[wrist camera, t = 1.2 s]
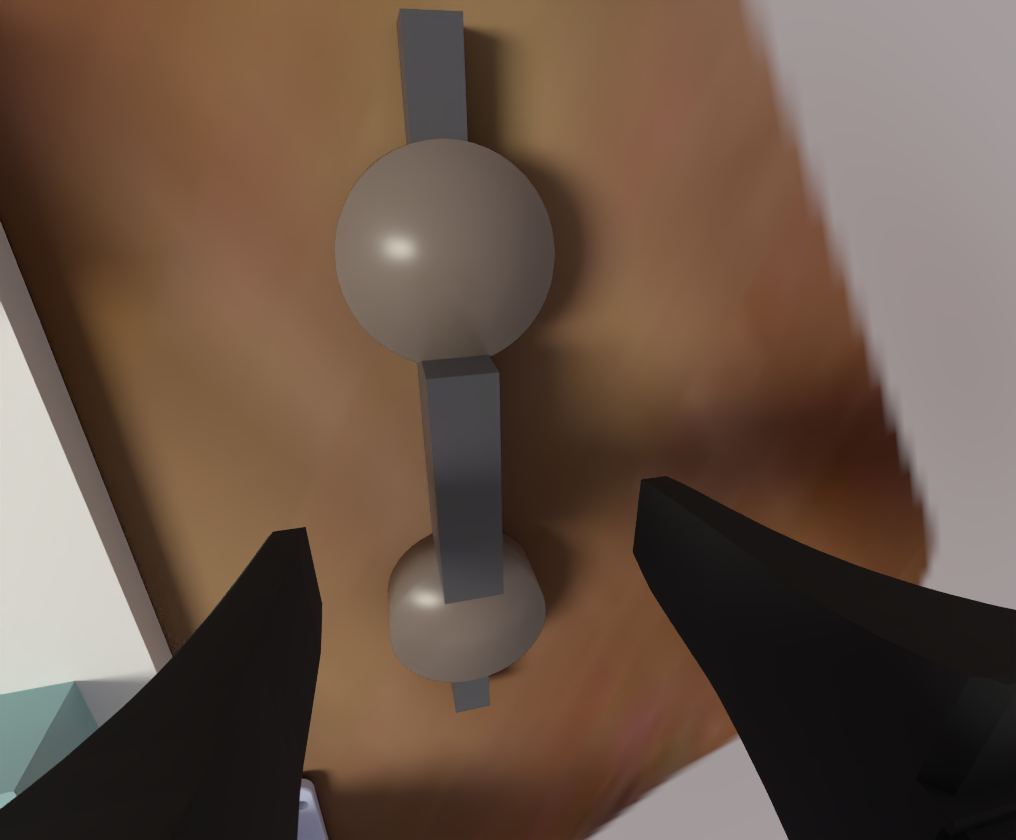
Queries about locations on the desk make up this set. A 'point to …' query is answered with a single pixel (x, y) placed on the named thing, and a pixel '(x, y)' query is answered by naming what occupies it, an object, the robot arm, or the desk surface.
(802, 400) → the desk surface
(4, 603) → the stand
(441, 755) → the desk surface
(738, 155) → the desk surface
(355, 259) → the rod with two spheres
